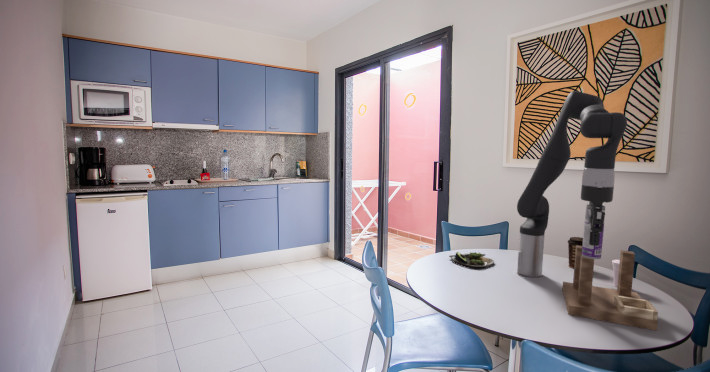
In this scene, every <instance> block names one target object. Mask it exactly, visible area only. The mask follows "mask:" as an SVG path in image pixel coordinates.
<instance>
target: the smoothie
mask: <svg viewBox="0 0 710 372" xmlns="http://www.w3.org/2000/svg"><path fill="white" fill-rule="evenodd" d="M611 264H612V272H613V285H614V287H615V288H617V287H618V275H619V264H620V259H612V260H611Z"/></svg>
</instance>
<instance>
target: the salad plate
mask: <svg viewBox="0 0 710 372" xmlns="http://www.w3.org/2000/svg"><path fill="white" fill-rule="evenodd" d="M485 256H486V254H485V253H481V252H478V253H477V252H469V253H460V252H458V251H456V253H455V254H454V255H452V254H451V255H449V257H450V258H451V260H452V262H453V263H454V262H455V263H454V264H456V263H457V264H456V265H458V264H459V266H461V265H462V266H461V267H464V266H465V268H467V267H469V269H473V268H474V270H475V269H476V270H482V269H486V268H487V267H490V266H491V265H493V264H494V263H495V260H494V259H492V258H489V257H485ZM486 262H487V263H486Z"/></svg>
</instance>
